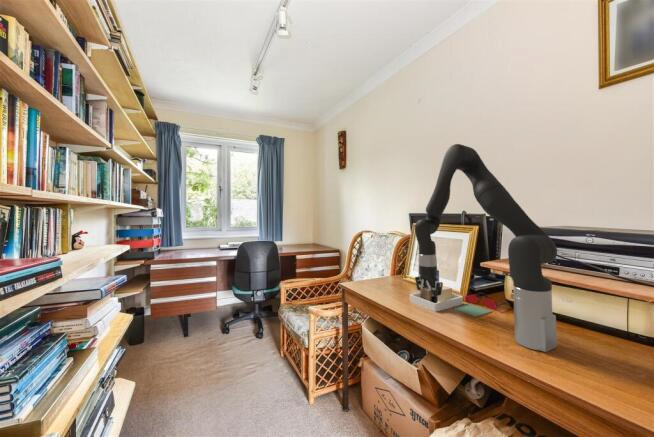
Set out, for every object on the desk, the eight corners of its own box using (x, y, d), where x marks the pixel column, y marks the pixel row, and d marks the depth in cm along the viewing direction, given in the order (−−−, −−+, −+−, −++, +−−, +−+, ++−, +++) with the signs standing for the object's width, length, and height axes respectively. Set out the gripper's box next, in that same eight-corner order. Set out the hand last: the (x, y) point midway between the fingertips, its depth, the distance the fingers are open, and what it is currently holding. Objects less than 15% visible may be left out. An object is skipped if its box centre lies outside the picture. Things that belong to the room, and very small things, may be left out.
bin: (462, 304, 115) (462, 296, 115) (435, 312, 108) (434, 303, 107) (436, 295, 128) (435, 288, 128) (409, 302, 121) (409, 294, 121)
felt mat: (492, 312, 105) (492, 311, 105) (475, 317, 101) (475, 316, 100) (469, 305, 114) (469, 303, 114) (453, 309, 110) (452, 308, 110)
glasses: (464, 303, 118) (463, 292, 117) (485, 296, 125) (485, 286, 125) (496, 313, 105) (496, 300, 105) (518, 304, 113) (518, 293, 113)
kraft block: (452, 301, 119) (451, 288, 118) (444, 303, 116) (443, 289, 116) (443, 298, 123) (442, 285, 123) (435, 300, 121) (434, 287, 121)
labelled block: (437, 305, 115) (437, 289, 115) (429, 307, 113) (428, 291, 113) (428, 301, 119) (428, 286, 119) (420, 303, 117) (420, 288, 117)
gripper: (447, 265, 111) (448, 305, 111) (421, 260, 124) (423, 296, 124) (434, 268, 108) (435, 309, 108) (409, 262, 121) (410, 299, 121)
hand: (429, 302), depth 116 cm, fingers closed on labelled block, 5 cm apart
